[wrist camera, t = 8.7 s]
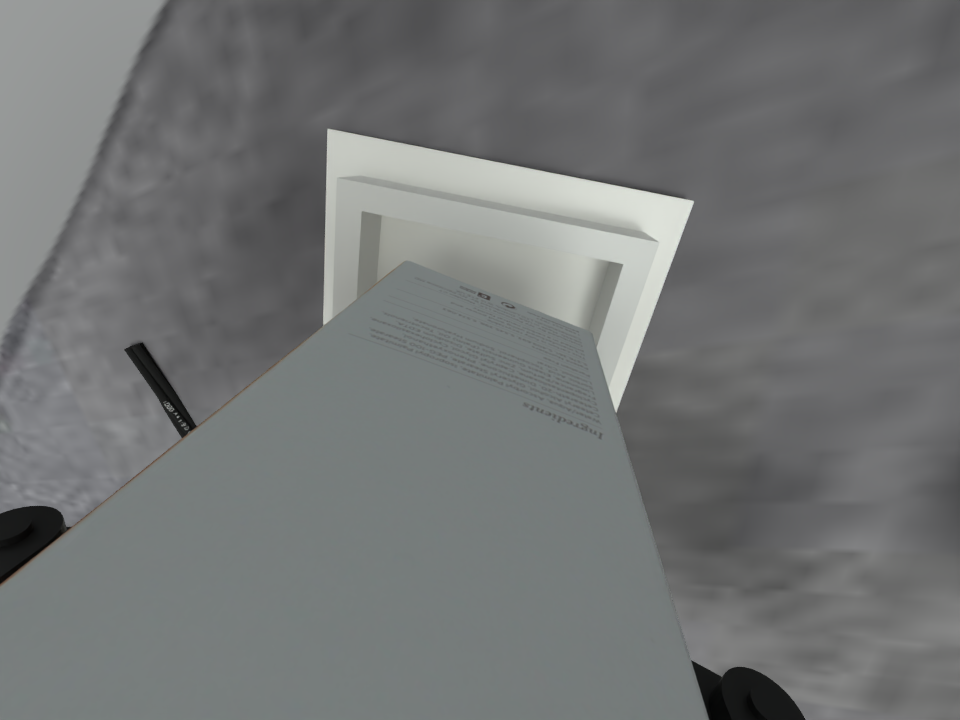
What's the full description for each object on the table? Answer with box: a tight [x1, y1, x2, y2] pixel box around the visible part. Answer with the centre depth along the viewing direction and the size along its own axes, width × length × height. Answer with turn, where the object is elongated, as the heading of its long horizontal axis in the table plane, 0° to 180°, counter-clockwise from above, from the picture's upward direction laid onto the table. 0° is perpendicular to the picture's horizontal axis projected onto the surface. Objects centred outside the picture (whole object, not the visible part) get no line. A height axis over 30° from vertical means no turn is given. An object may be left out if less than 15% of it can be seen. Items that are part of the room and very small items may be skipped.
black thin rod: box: [124, 343, 197, 438], centre depth 26 cm, size 12×1×1 cm, turn 17°
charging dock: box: [323, 129, 694, 412], centre depth 18 cm, size 17×15×9 cm
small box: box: [0, 261, 709, 720], centre depth 9 cm, size 8×6×13 cm
